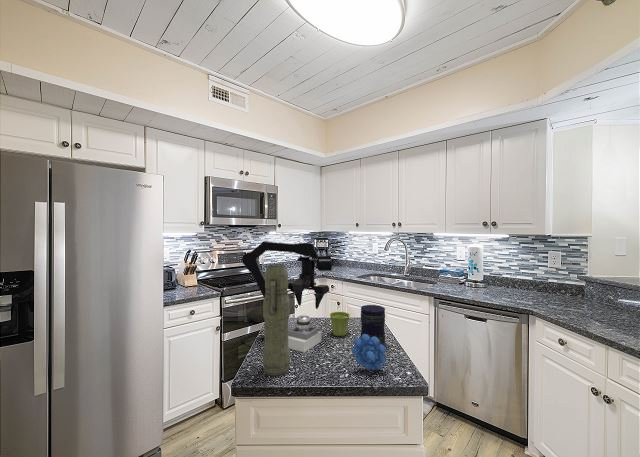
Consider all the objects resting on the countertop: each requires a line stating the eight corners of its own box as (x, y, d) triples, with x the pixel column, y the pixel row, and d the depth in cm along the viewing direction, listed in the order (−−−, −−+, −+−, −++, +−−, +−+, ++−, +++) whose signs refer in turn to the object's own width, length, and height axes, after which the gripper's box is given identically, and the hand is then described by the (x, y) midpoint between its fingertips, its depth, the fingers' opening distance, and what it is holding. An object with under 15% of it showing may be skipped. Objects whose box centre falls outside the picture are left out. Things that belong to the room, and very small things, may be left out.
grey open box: (284, 347, 113) (284, 332, 113) (303, 336, 124) (303, 323, 124) (304, 352, 108) (304, 336, 108) (321, 341, 120) (321, 326, 120)
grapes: (352, 376, 91) (352, 338, 91) (351, 366, 98) (351, 331, 98) (389, 377, 90) (389, 339, 90) (385, 367, 97) (385, 331, 97)
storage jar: (365, 338, 123) (365, 303, 123) (388, 342, 118) (388, 306, 118) (356, 346, 114) (356, 309, 114) (380, 351, 109) (380, 312, 109)
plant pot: (353, 332, 130) (353, 313, 130) (344, 339, 122) (344, 319, 122) (335, 328, 135) (335, 310, 135) (325, 335, 127) (325, 315, 127)
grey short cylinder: (293, 335, 115) (293, 318, 115) (301, 331, 120) (301, 314, 120) (305, 338, 113) (305, 320, 113) (312, 333, 117) (312, 316, 117)
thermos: (290, 360, 102) (291, 262, 102) (288, 378, 90) (288, 267, 90) (265, 361, 101) (266, 262, 102) (260, 378, 90) (260, 267, 90)
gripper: (279, 271, 123) (279, 308, 123) (315, 275, 113) (315, 315, 112) (295, 268, 132) (295, 302, 132) (329, 272, 122) (329, 308, 122)
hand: (308, 307), depth 124 cm, fingers open, 9 cm apart
